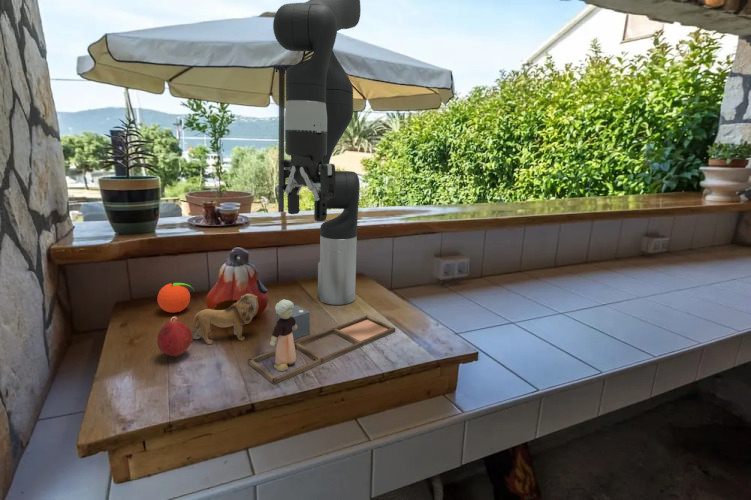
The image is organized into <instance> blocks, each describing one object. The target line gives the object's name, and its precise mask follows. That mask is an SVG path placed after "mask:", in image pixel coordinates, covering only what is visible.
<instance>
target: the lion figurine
mask: <svg viewBox="0 0 751 500" xmlns="http://www.w3.org/2000/svg"><path fill="white" fill-rule="evenodd" d="M258 310H259V302H258V296H257V295H255V294H252V293H245V294H244V295H241V296H240V299H239V300H236V302H235V303H233V304H231V306H229V307H228V308H226V309H212V308H205V309H202V310H199V311H198V312H197V313H196V314H195V315H194V317H193V320H192V323H191V329H190V331H191V333H192V338H193V339H194V340H198V339H201V337H202V339H203V340H204V341H205V343H206V344H207V345H213V344H214V340H213V339H209V337H208V335H209V332H210V329H211V325H213V326H216V327H218V328H230V327H233V334H234V335H235V336H236V337H237V339H238V341H242V342H243V341H245V336H243V335H242V334H243V330H244V329H243V326H244V325H246V324H250V323H251V322H252V321H253V318H254V317H255V316H256V315H257V313H258ZM197 321H198V323H197ZM196 324H197V325H196ZM201 330H202V336H201V335H200V334H198V333H199V332H200V331H201Z"/></svg>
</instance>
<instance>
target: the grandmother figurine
mask: <svg viewBox="0 0 751 500" xmlns="http://www.w3.org/2000/svg"><path fill="white" fill-rule="evenodd" d="M293 307H294V302H293V301H291V300H289V299H282V300H279V302H277V303H276V304H275V308H274V309H275V313H277V314H278V315H279V317H280V319H279V320H278V321H276V324H275V326H274V329H273V331H272V333H271V339H270V342H269V346H271V347H276V348H275V349H276V355H275V360H274V362H275V363H274V365H273V367H274V369H276V370H277V371H278V372H284V371H287V370H288V368H289V366H288V365H293V364H294V363H295V362H296V360H297V353H296V348H295V346H294V342H295V341H294V340H295V339H293V334H292V329H293V330H296V329H297V325H296V321H295V319H294V318H293V317H292V316H291V315H292V308H293ZM277 340H278V341H277Z"/></svg>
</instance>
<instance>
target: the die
mask: <svg viewBox="0 0 751 500" xmlns="http://www.w3.org/2000/svg"><path fill="white" fill-rule="evenodd" d="M293 305H294V304H293ZM275 313H276V312H275ZM310 314H311V313H310V311H308V310H307V309H305V308H303V307H301V306H299V305H297V304H295V305H294V307H293V308H292V315H291V316H292V317H293V318H294V319H295V321H296V325H297V329H296V330H293V329H292V334H293V340H295V339H299V338H301V337H303V336H307V335H309V334H310V333H311V332H310V331H311V330H310V328H311V327H310V318H311V317H310ZM275 315H276V317H275V318H276V319H275V320H276V322H277V321H278V320H279V319H280V317H279V315H278V314H277V313H276V314H275Z"/></svg>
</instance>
